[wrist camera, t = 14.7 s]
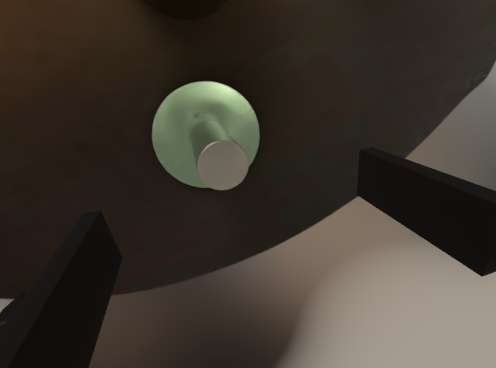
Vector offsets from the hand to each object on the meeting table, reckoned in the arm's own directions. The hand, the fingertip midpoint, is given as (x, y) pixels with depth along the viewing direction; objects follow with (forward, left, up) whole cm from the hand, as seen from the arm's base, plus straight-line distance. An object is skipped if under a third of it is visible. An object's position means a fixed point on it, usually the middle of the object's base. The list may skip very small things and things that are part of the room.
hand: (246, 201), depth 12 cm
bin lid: (0, 0, -17) cm, 17 cm away
